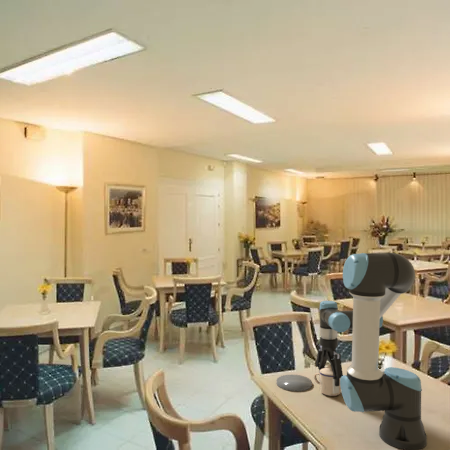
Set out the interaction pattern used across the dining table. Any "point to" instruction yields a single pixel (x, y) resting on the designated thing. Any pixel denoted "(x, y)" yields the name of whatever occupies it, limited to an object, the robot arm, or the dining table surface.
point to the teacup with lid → (327, 381)
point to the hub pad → (294, 382)
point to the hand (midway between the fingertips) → (329, 388)
